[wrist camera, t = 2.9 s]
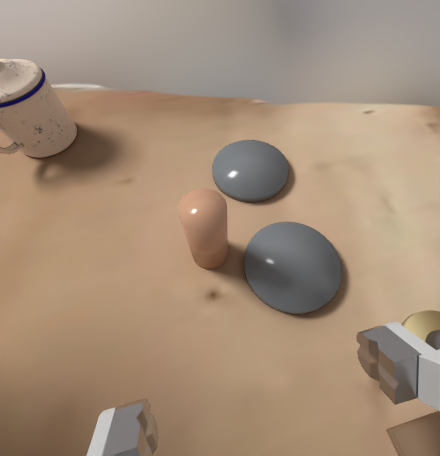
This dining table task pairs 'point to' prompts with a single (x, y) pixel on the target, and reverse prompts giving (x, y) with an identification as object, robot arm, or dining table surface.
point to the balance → (430, 424)
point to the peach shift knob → (205, 226)
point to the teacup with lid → (32, 111)
